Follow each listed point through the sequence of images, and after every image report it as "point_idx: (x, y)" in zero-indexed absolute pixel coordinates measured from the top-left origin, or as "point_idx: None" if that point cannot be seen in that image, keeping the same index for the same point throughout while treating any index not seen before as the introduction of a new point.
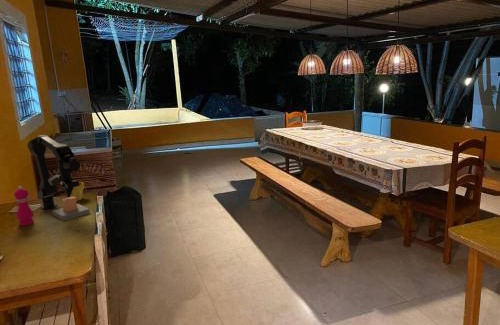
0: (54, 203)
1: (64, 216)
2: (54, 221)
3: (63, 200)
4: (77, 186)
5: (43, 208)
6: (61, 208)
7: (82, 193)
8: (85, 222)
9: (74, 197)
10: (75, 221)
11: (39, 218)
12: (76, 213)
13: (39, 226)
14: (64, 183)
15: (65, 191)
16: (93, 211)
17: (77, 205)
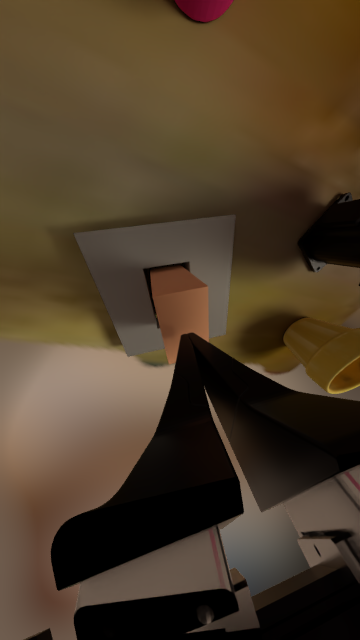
0: (324, 261)
1: (80, 247)
2: (103, 186)
3: (175, 291)
4: (329, 377)
5: (336, 204)
6: (224, 267)
7: (297, 358)
8: (3, 317)
9: None
10: (43, 284)
11: (227, 117)
12: (109, 309)
13: (29, 6)
14: (344, 559)
15: (212, 364)
16: (142, 355)
17: None
